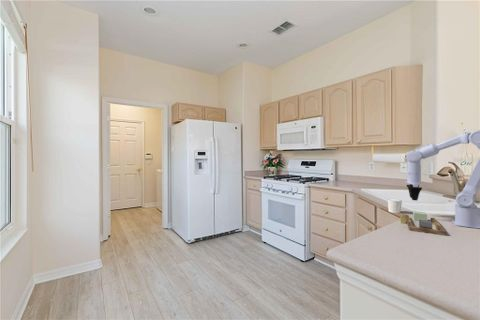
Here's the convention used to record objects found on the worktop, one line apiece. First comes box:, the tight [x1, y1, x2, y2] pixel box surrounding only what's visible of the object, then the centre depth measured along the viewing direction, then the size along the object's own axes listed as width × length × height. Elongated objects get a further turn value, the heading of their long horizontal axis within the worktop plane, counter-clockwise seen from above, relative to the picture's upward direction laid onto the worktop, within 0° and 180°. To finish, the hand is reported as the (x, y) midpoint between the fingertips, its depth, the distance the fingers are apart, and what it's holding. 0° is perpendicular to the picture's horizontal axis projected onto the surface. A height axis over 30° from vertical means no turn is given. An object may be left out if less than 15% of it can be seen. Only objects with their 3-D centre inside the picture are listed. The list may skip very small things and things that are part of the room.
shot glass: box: [387, 198, 403, 214], centre depth 130 cm, size 7×7×7 cm
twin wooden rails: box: [405, 214, 447, 236], centre depth 105 cm, size 12×24×2 cm, turn 148°
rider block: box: [412, 210, 428, 222], centre depth 114 cm, size 5×5×4 cm
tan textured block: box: [399, 213, 407, 225], centre depth 110 cm, size 2×3×4 cm, turn 148°
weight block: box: [418, 219, 433, 229], centre depth 99 cm, size 4×4×4 cm
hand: (413, 199), depth 120 cm, fingers open, 7 cm apart
